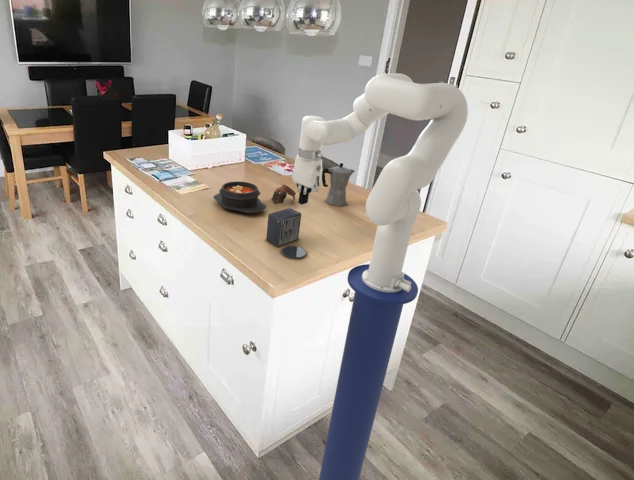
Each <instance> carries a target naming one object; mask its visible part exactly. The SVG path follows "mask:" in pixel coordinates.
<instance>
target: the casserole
mask: <svg viewBox="0 0 634 480" xmlns="http://www.w3.org/2000/svg"><path fill="white" fill-rule="evenodd" d="M260 195H261V192H260V190H259V187H258V185H256V184H254V183H251V182H247V181H229V182H226V183H223V184H222V186H221V188H220V189H219V192H218V193H216V194H215V195H213V197H212V198H213V199H214V200H215V201H216V203H217V204H218V205H219V206H220V207H222V208H223V209H227V210H229V211H230V210H231V211H235V212H241V213H245V214H254V213H255V214H256V213H259V212H262V211H264V210H266V208H267V205H266V204H264V203H263V202H262V200H261V199H260V198H259V196H260Z"/></svg>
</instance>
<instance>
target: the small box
mask: <svg viewBox="0 0 634 480" xmlns="http://www.w3.org/2000/svg"><path fill="white" fill-rule="evenodd" d="M267 215H268V216H267V226H266V236H265V240H266V241H267V242H268V243H270V245H271V244H272V245H273V246H274V247H277V248H279V247H281V246H283V245H286V244H289V243H291V242H294V241H297V240H299V237H300V236H299V235H300V228H301V221H302V212H299V211H297V210H295V209H293V208H291V207H288V208H285V209H281V210H278V211H274V212H272V213H271V212H270V213H268V214H267Z"/></svg>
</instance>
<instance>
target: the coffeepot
mask: <svg viewBox="0 0 634 480" xmlns="http://www.w3.org/2000/svg"><path fill="white" fill-rule="evenodd" d="M354 173H355V170H354V169H352V168H347V167H344V163H342V162H340V163H339V166H332V167H330V168H324V169H322V181H321V184H322V186H323V187H324V188H328V187H329V189H328V192H327V195H326V198H325V202H326V203H327V204H328V205H330V206H335V207H342V206H345V205H347V186H348V183H349V180H350V179H351V178H350V177H351V176H352V175H353V174H354ZM326 174H330V175H329V176H330V177H329V181H330V184H326V183H327V180H326ZM329 185H330V186H329Z"/></svg>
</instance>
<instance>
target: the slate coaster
mask: <svg viewBox="0 0 634 480" xmlns="http://www.w3.org/2000/svg"><path fill="white" fill-rule="evenodd" d="M281 254H282V255H283V256H284V257H285V258H288V259H292V260H300V259H303V258H305V256H306V251H305V249H304V248H302V247H299V246H296V245H287V246H284V247H283V248H282V249H281Z"/></svg>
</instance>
